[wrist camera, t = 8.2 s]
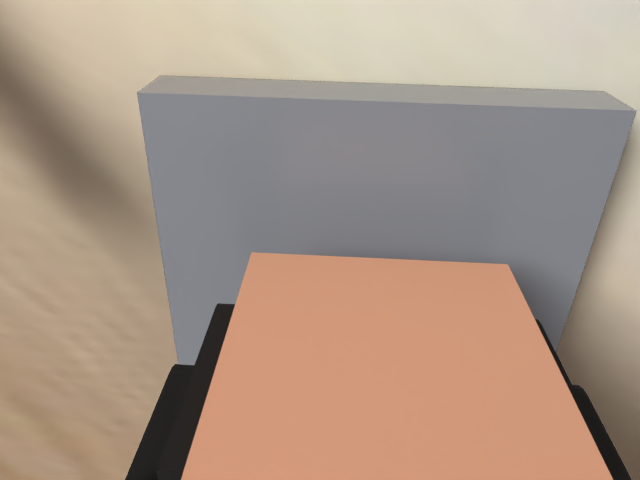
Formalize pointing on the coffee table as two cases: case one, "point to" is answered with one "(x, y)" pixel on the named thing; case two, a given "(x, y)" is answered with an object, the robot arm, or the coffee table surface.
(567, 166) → the block
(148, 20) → the coffee table surface
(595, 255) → the coffee table surface
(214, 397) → the cube
